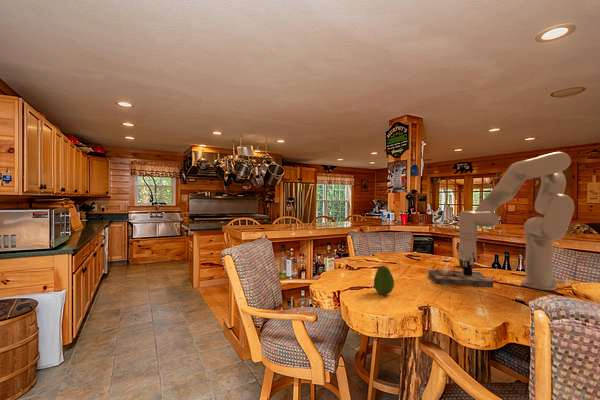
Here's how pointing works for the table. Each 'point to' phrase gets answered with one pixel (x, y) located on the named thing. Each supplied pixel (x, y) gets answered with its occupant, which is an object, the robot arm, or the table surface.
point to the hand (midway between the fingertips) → (467, 275)
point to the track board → (461, 278)
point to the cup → (462, 263)
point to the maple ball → (445, 272)
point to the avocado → (383, 281)
